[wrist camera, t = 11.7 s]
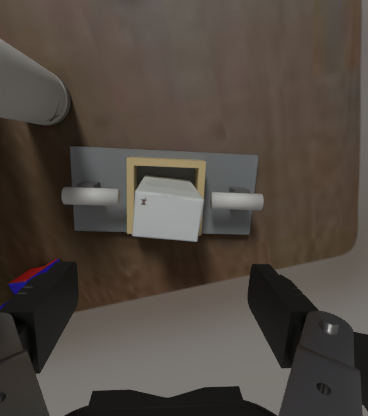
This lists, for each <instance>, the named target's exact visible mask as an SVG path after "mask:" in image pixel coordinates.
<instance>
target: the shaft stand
mask: <svg viewBox="0 0 368 416" xmlns="http://www.w3.org/2000/svg"><path fill="white" fill-rule="evenodd" d="M258 156H259V155H244V154H223V153H203V152H182V151H161V150H141V149H120V148H99V147H79V146H70V158H71V176H72V187H64V188H63V190H62V194H61V198H62V202H63V204H70V205H73V211H74V229H75V231H108V232H127V234H132V228H133V213H134V199H135V191H136V189H137V188H138V186H139V184H140V183H141V181H142V180H143V178H144V176H145V175H153V176H161V177H169V178H177V179H185V180H190V181H191V183H192V184H193V185H194V187H195V188H196V189H197V191H198V192H199V193H200V195H201V196H202V197H203V199H204V206H203V212H202V218H201V223H200V229H199V235H198V236H201V234H241V235H249V234H250V226H251V217H252V210H261V209H262V207H263V196H262V194H254V191H255V182H256V173H257V165H258Z"/></svg>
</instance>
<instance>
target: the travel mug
mask: <svg viewBox="0 0 368 416" xmlns="http://www.w3.org/2000/svg"><path fill="white" fill-rule="evenodd" d="M70 105H71V98H70V94H69V91H68V89H67V87H66V85H65V84H64V82H63V81H62V80H61V79H60V78H58V77H57V76H56V75H54V74H53V73H51V72H50V71H48V70H47V69H45V68H44V67H42V66H41V65H39V64H38V63H36V62H35V61H33V60H31V59H30V58H28V57H27V56H25V55H24V54H22V53H21V52H19V51H18V50H16V49H15V48H13V47H12V46H10V45H9V44H7V43H6V42H4V41H3V40H1V39H0V117H1V118H6V119H12V120H17V121H23V122H28V123H33V124H39V125H46V126H50V125H55V124H58V123H59V122H61V121H62V120H63V119H64V118H65V117H66V116H67V114H68V112H69V110H70Z"/></svg>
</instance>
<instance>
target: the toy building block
mask: <svg viewBox="0 0 368 416" xmlns="http://www.w3.org/2000/svg"><path fill="white" fill-rule="evenodd" d="M57 261H60V260H59V258H58V259H54V260H53V261H52V262H50V263H49V264H47V265H46V266H42V267H37V268H31V269H29V270H28V271H26V272H25V273H23V274H22V275H20V276H19V277H17V278H16V279H14V280H13V281H11V282H10V283H8V286H9V287H10V289H11V290H12V292H13V293H14V295H15V294H17V293H18V291H19V290H20V289H21V288H24V285H25V284H26V283H27V282H28V281H29V280H30V279H32V278H33V277H35V276H37V275H39V274H41V273H46V272H47V271H48V270H49V269H50V268H51V267H52V266H53V265H54V264H55V263H56V262H57ZM6 303H7V302H6ZM6 303H5V304H6ZM5 304H3V305H2V306H1V307H0V309H1V308H2V307H3V306H4V305H5Z"/></svg>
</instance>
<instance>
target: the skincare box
mask: <svg viewBox="0 0 368 416" xmlns="http://www.w3.org/2000/svg"><path fill="white" fill-rule="evenodd" d="M203 206H204V199H203V197H202V196H201V195H200V193H199V192H198V191H197V189H196V188H195V187H194V185H193V184H192V183H191V181H190V180H185V179H177V178H169V177H161V176H153V175H145V176H144V178H143V180H142V181H141V183H140V184H139V186H138V188H137V189H136V191H135V199H134V213H133V228H132V236H135V237H145V238H156V239H169V240H181V241H192V242H197V241H198V235H199V229H200V223H201V218H202V212H203Z"/></svg>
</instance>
